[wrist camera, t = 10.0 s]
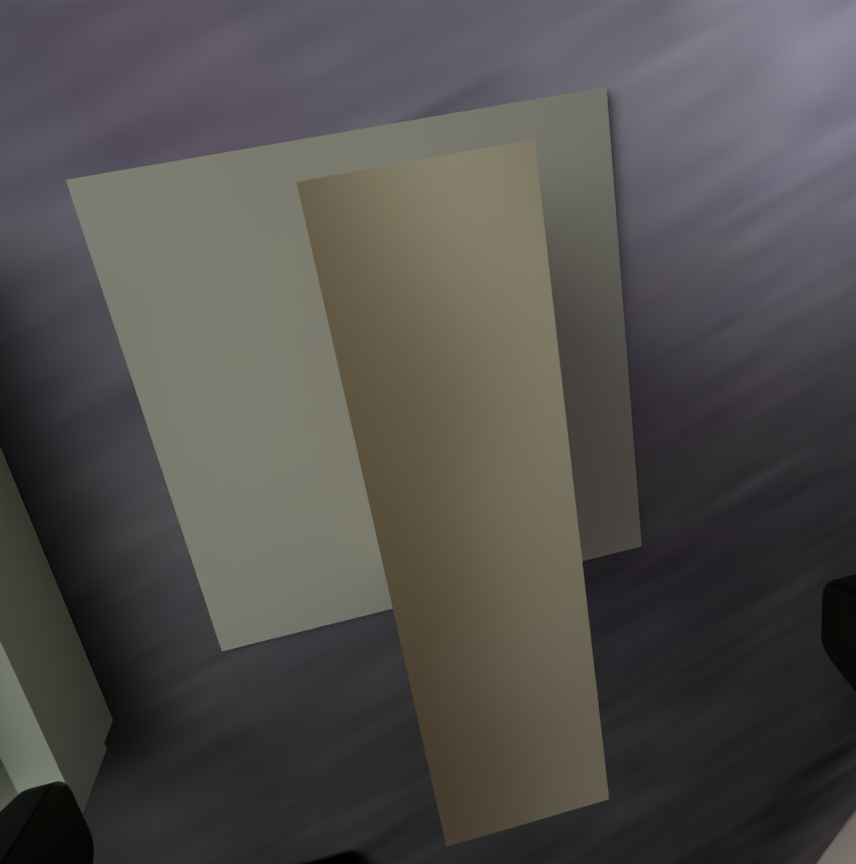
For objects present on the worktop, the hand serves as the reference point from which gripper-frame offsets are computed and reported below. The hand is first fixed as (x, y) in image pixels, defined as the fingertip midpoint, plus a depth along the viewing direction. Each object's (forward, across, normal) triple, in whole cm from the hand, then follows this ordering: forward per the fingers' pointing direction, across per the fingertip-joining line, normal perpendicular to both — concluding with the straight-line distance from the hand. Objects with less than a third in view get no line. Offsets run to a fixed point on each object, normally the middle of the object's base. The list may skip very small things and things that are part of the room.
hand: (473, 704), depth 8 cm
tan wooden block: (+12, -1, 0) cm, 13 cm away
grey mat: (+13, -1, 0) cm, 13 cm away
